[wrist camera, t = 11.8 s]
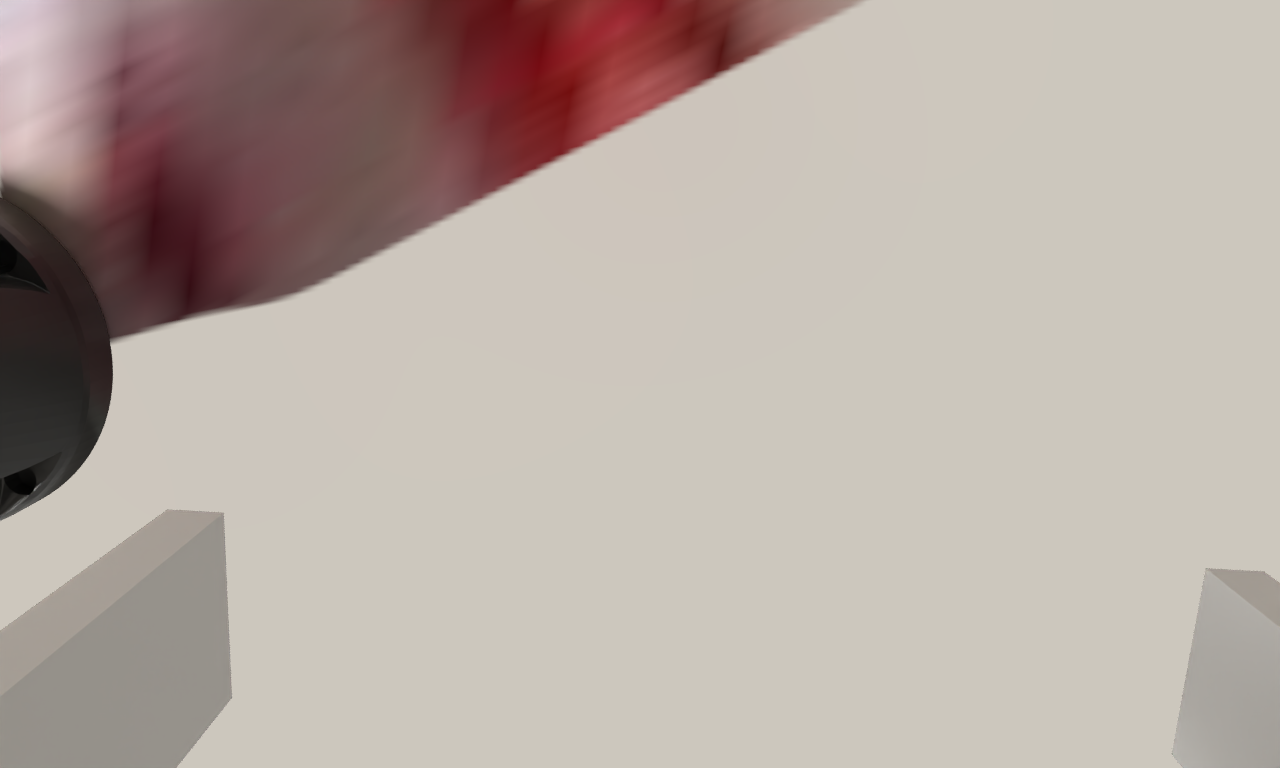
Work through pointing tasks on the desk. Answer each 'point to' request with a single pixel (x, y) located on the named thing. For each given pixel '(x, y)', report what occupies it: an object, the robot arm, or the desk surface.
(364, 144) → the desk surface
